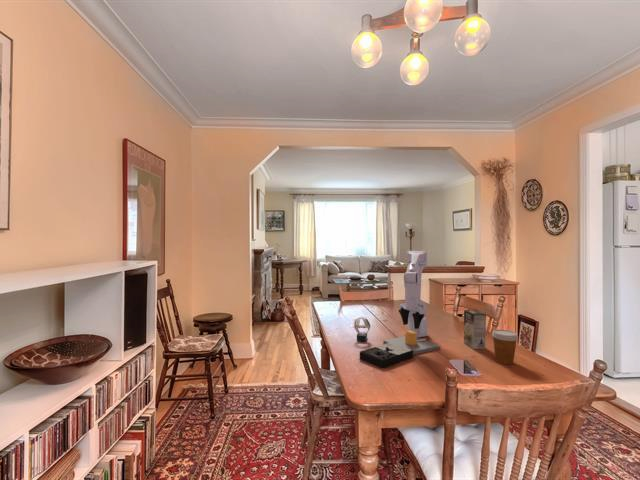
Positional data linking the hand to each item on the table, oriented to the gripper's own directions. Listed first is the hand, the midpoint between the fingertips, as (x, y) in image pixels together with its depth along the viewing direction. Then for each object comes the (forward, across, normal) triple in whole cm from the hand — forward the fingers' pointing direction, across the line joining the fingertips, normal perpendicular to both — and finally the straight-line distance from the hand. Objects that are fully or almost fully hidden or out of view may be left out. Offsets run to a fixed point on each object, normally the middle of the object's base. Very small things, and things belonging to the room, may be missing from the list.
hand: (411, 326), depth 157 cm
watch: (+10, -18, -15) cm, 25 cm away
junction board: (+9, 0, 0) cm, 9 cm away
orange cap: (+8, 0, 0) cm, 8 cm away
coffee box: (+10, +13, +27) cm, 31 cm away
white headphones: (+10, -38, -4) cm, 39 cm away
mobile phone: (+10, +29, +1) cm, 31 cm away
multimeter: (+10, +7, -20) cm, 24 cm away
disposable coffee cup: (+9, +32, +21) cm, 39 cm away
